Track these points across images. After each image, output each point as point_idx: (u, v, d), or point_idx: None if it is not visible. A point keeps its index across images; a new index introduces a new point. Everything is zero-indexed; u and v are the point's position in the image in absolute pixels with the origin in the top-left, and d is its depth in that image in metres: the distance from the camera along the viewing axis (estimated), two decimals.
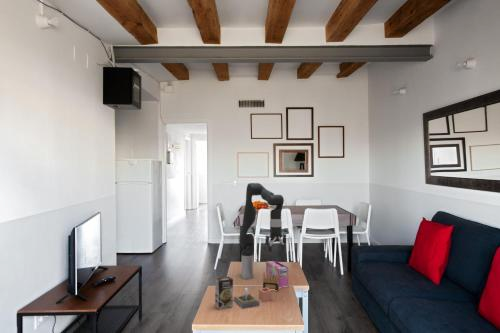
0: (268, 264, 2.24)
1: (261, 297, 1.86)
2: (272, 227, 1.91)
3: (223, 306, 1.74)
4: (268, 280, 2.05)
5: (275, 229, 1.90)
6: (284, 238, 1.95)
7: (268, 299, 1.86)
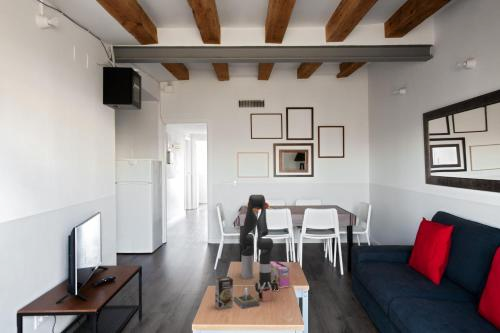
0: None
1: None
2: (261, 272, 1.86)
3: (223, 306, 1.74)
4: None
5: (264, 275, 1.85)
6: (273, 284, 1.90)
7: (268, 299, 1.86)
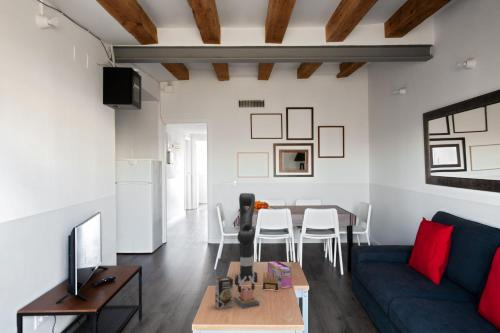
0: (270, 264, 2.23)
1: (242, 297, 1.81)
2: (242, 266, 1.81)
3: (223, 306, 1.74)
4: (268, 280, 2.05)
5: (245, 268, 1.80)
6: (255, 277, 1.85)
7: (249, 299, 1.80)
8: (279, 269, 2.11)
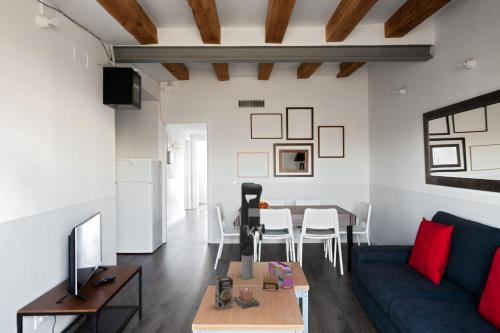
0: (271, 265, 2.22)
1: (242, 297, 1.81)
2: (250, 216, 1.88)
3: (223, 306, 1.74)
4: (268, 280, 2.05)
5: (253, 218, 1.87)
6: (263, 228, 1.92)
7: (249, 299, 1.80)
8: (281, 269, 2.10)
